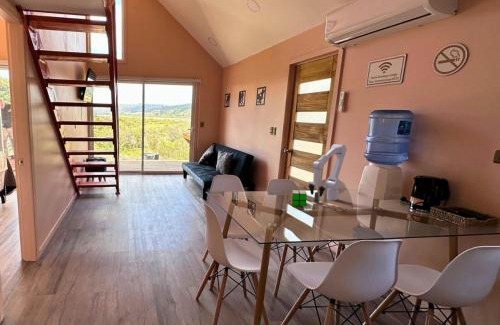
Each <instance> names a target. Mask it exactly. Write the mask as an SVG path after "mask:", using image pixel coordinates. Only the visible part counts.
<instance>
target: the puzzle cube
mask: <svg viewBox="0 0 500 325" xmlns="http://www.w3.org/2000/svg"><path fill="white" fill-rule="evenodd" d="M306 206H307V191H306V190H295V189H294V190H291V207H292V208H299V207H306Z"/></svg>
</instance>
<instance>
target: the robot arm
mask: <svg viewBox="0 0 500 325" xmlns="http://www.w3.org/2000/svg"><path fill="white" fill-rule="evenodd" d="M346 153H347V146H346V145H345V144H336V143H334V144H332V145H331V147H330V149H329V150H328V152H326V154H323V155H321V156H320V157H319V158H318V159H317V160H316V161H313V162H312V165H311V167H312V170H313V177H312V178H313V179H312V180H313V181H308V182H307V184H308V185H307V186H308V188H309V191H310V195H315V192H314V191H315V186H316V187H318V190H319V197H321V198H322V197H323V194H324V191H325V190H327V191H326V200H328V201H336V200H341V199H339V198H340V190H339V188H340V183H341V180H340V179H339V175H340V172H341V169H342V165H343V163H344V160H345V156H346ZM333 155H335V156H336V159H335V161H334V165H333V168H332V172H331V174H330V176H329V177H327V179H326V181H325V183H322V174H323V173H322V171H323V170H324V167H325V165H326V164H327V163H328V162H329V160H330V158H331V157H333Z"/></svg>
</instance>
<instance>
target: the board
mask: <svg viewBox="0 0 500 325" xmlns="http://www.w3.org/2000/svg"><path fill="white" fill-rule="evenodd" d="M309 203H310V204H315V205H318V206H323V207H326V208H330V209H334V211H336V212H343V211H345V210H348V207H344V206H342V205H338V204H332V203H329V202H325V201H321V200H319V203H314V202H313V201H310V202H309Z"/></svg>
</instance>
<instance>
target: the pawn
mask: <svg viewBox="0 0 500 325" xmlns="http://www.w3.org/2000/svg"><path fill="white" fill-rule="evenodd" d="M313 195H314V196H313V197H314V199H313V201H312V202H314V203H319V201H320V200H319V197H320V194H319V192H318V191H315V192H314V194H313ZM314 203H313V204H314Z"/></svg>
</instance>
